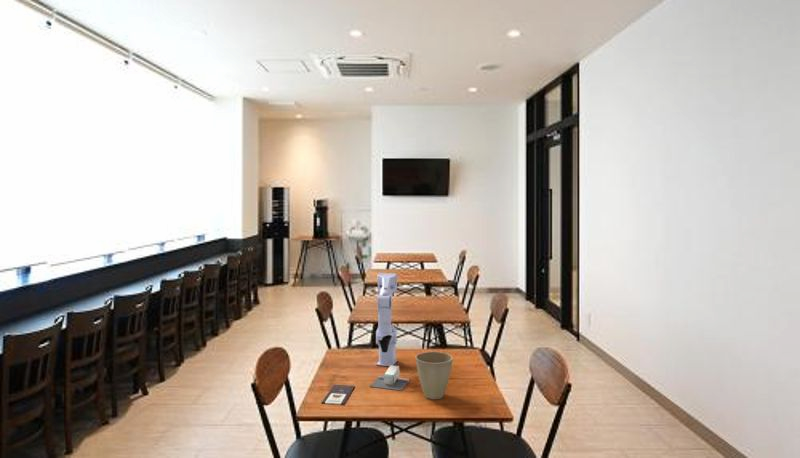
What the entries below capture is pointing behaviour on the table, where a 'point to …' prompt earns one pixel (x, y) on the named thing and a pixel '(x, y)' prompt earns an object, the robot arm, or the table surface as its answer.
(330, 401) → the chocolate bar
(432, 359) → the plant pot
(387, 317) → the robot arm
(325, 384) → the table surface
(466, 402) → the table surface
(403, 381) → the stop rail
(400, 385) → the mat
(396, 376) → the tall block
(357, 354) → the table surface
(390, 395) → the table surface
